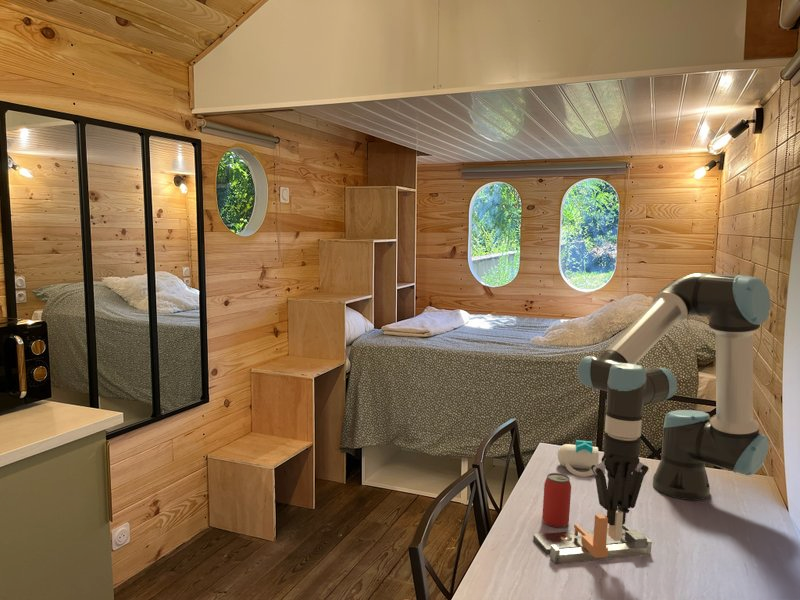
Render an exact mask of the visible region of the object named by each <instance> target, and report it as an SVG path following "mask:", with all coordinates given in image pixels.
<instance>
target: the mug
mask: <svg viewBox="0 0 800 600" xmlns="http://www.w3.org/2000/svg"><path fill="white" fill-rule="evenodd" d="M599 459H600V458H599V447H598V446H593V441H592V440H591V441H589V440H582V439H581V440H578V439H576V440H575V444H571V443H565V444H563V445H561V446H560V447H559V449H558V452H557V460H558V462H559V464H560V465H561V466H562V467H564V468H566V469H567V471H569V473H571V474H573V475H574V476H578V477H582V478H585V477H586V478H587V477H591V476H594V475H595V474H594V473H593V471H592V469H591V467H592V465H595V466H597V465H598V464H599ZM576 469H578V470H579V469H581V470H587V471H578V470H576Z"/></svg>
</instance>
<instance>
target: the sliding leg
mask: <svg viewBox="0 0 800 600" xmlns="http://www.w3.org/2000/svg"><path fill="white" fill-rule="evenodd" d="M593 523H594V525H593V529H594V535H589V534H588V533H586V532H585V531H584V530H585V529H583V528H582V527H581V525H579V524H578V523H574V524H573V528H574V531H575V533H574V535H575V536H578V532H579V533H580V534H581V535H583V536H582V540H581V544H582V545H583V546H584V547H585V548H586V549H587V550H588V551H589V552H590V553H591V554H592V555H593V556H594V557H595V558H598V557H607V555H608V548H607V547H606V541H607V528H609V524H608V517H607V515H606V514H605V513H600V514H599V513H597V514H595V515H594V522H593Z"/></svg>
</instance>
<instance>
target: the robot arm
mask: <svg viewBox="0 0 800 600" xmlns="http://www.w3.org/2000/svg"><path fill="white" fill-rule="evenodd" d="M770 310H771V295H770V291H769V289H768V286H767V285H766V283H764V280H762V279H760V278H759V277H756V276H755V277H754V276H750V275H749V276H748V275H745V274H744V275H743V274H731V273H730V274H727V273H710V272H694V273H691V274H688V275H684V276H682V277H680V278H678V279H675V280H674V281H672V282H670V283H669V284H667V285H666V286H664V287H663V288H662V289H661V290H660V291H658V292H657V293H656V294H655V295H654V297H653V299H652V304H651V305H649V306H648V308H647V309H645V310H644V312H642V314H640V315H639V316H638V318H636V320H635V321H633V322H632V323H631V324H630V325H629V326H628V327H627V328H626V329H625V330H624V331H623V332H622V333H621V334H620V335H619V336H618V337H617V338H616V339H615V340H614V341H613V342H612V343H610V345H609V346H608V347H607V348H606V349H605V350H603V352H602V353H601V354H600V355H599V356H595V355H587V356H584V357H583V358H582V359H580V361H579V364H578V366H577V370H576V371H577V373H576V374H577V378H578V380H579V382H580V383H581V384H582V385H584V386H586V387H589V388H592V389H595V390H599V391H600V390H601V391H605V392H607V395H606V411H605V423H604V431H605V433H604V436H603V449H602V450H603V456H602V457H601V462H600V463H598V465H597V466H595V465H592V467H591V469H592V471H593V473H594V474H593V475H594V479H595V485H596V491H597V498H598V503H599V504H598V505H600V506H601V507H602V508H603V509H604V510H606V517H608V528H609V532H608V535H609V536H610V537H611V538H612V539H613V540H614V541H621V534H622V524H626V518H627V517H626V516H627V514H629V513H630V509H634V508H635V507H636V503H637V502H638V501H637V500H638V497H639V494H640V491H641V487H642V484H643V481H644V478H645V476H646V474H647V473H648V471H649V466H647V465H646V464H645V463H642V462H641V461H640V457H639V455H640V452H641V438H640V437H641V436H642V431H643V428H642V427H643V415H644V406H647V405H651V404H655V403H662V402H665V401H666V400H669V399H672V398H673V397H674V395H676V392H677V389H678V381H677V377H676V376H675V375H674V373H673V372H672V371H671V370H669V369H668V368H665V367H652V368H648V367H643V365H639V364H638V362H639V361H640V360H641V359H643V358H644V356H645V355H647V353H649V351H650V350H651V349H652V348H653V347H654V346H655V345H656V344H657V343H658V342H659V341H660V340H661V338H662V337H664V335H666V334H667V333H668V332H669V331H670V330H671V328H672V327H673V326H674V325H675V324H678V323H682V322H684V320H686V319H687V318H688V317H696V316H697V317H698V316H699V317H703V318H708V326H709V327H708V328H709V329H711V331H712V332H714V333H715V401H716V404H715V405H716V408H715V410H716V411H715V412H716V415H715V416H713V417H711V415H710V414H709V413H708V412H705V411H700V410H696V409H695V410H694V409H693V410H692V409H691V410H690V409H678V410H671V411H669V412H668V413H666V414H665V417H664V421H663V427H662V428H663V431H662V432H663V433H662V443H661V444H662V445H661V456H660V458H661V459H660V462H659V463H658V466H657V468H656V471H655V473H654V475H653V476H652V487H653V488H655V490H657V491H658V492H660V493H662V494H664V495H667V496H670V497H674V498H678V499H681V500H690V501H692V500H693V501H697V500H698V501H699V500H705V499H707V498H709V497H710V492H711V484H710V483H709V478H708V474H707V471H706V464H709V465H713V466H715V467H718V468H721V469H724V470H728V471H730V472H733V473H734V474H737V473H738V474H740V475H745V476H752V475H754V474H756V473H758V471H759V470H760V469H761V467H762V466H763V464H764V462H765V460H766V457H767V454H768V452H769V447H770V446H769V445H770V442H769V441H770V440H769V438H768V437H767V435H765V434H763V433H760V424H759V422H758V421H757V420H756V419H754V417H753V415H754V414H753V413H754V412H753V411H754V408H753V407H754V406H753V405H754V404H753V403H754V399H753V398H754V397H753V396H754V385H753V384H754V334H755V333H756V332H757V331H759V329H761V324H764V323H765V322H766V321H767V320H768V318H769V316H770ZM606 474H607V475H606ZM606 476H607V478H608V479H606Z"/></svg>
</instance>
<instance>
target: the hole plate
mask: <svg viewBox="0 0 800 600" xmlns="http://www.w3.org/2000/svg"><path fill="white" fill-rule="evenodd" d="M583 530H584V531H585V532H586V533H588V534H589V535H594V528H592V529H583ZM608 532H609V527H607V541H606V545H612V544H623V543H627V542H626V541H625V530H624V529H623V528H622V534H621V541H614V540H613V539H612V538H611V537H610V536H609V535H608ZM574 533H575V530H569V531H559V532H558V531H557V532H547V533H534V534H533V538H532V539H533V541H534V542H535V543H536V544H537V545H538V547H539V548H540V549H541V550H542V551H543V552H544V553H545V554H546V555H550V552H551V545H556V546H557V547H558V548H559V549H568V548H579V547H584V546H583V545H582V544H581V540H582V536H583V535H581V534H580V533H579V532H578V536H575V535H574Z"/></svg>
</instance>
